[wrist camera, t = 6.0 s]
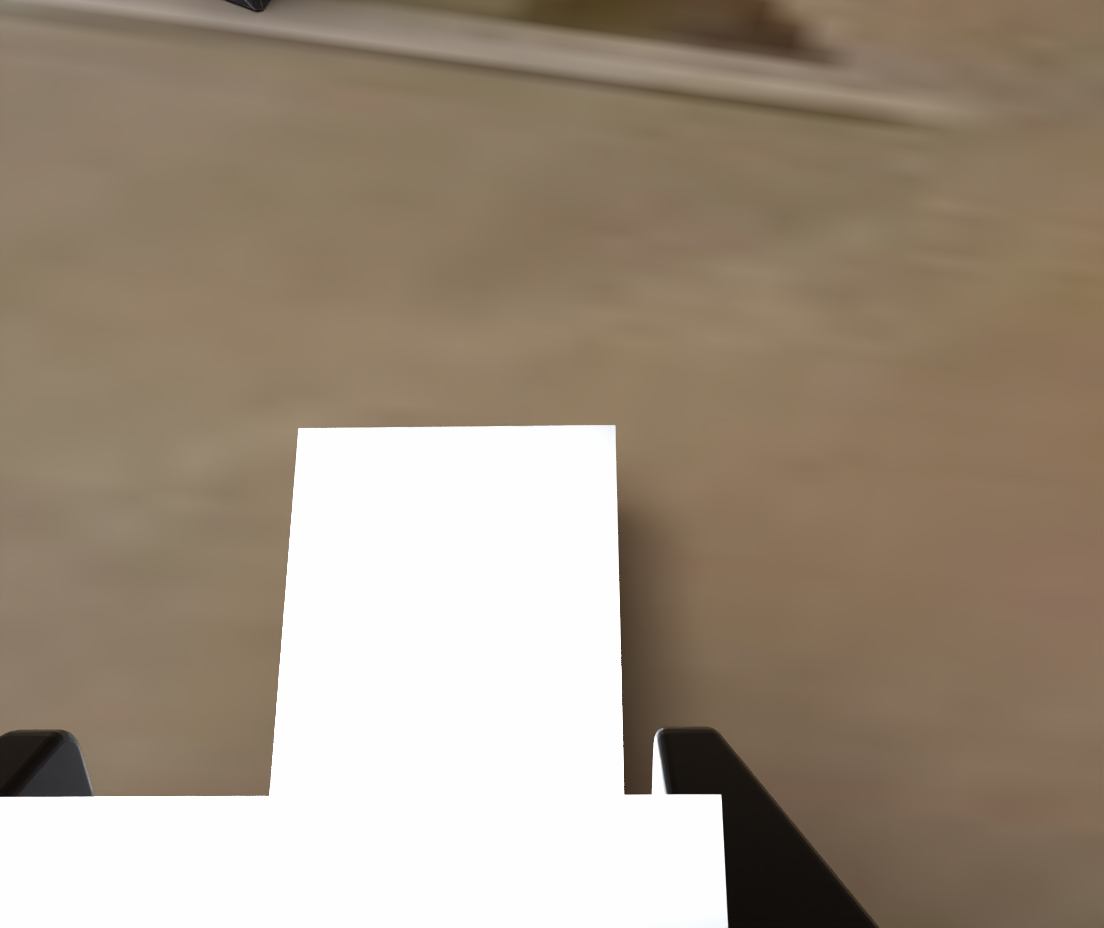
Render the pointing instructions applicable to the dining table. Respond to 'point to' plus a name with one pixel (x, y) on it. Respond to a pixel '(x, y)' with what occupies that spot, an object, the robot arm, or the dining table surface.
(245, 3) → the ammunition clip
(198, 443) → the dining table surface
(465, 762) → the white l-shaped block
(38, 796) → the robot arm
